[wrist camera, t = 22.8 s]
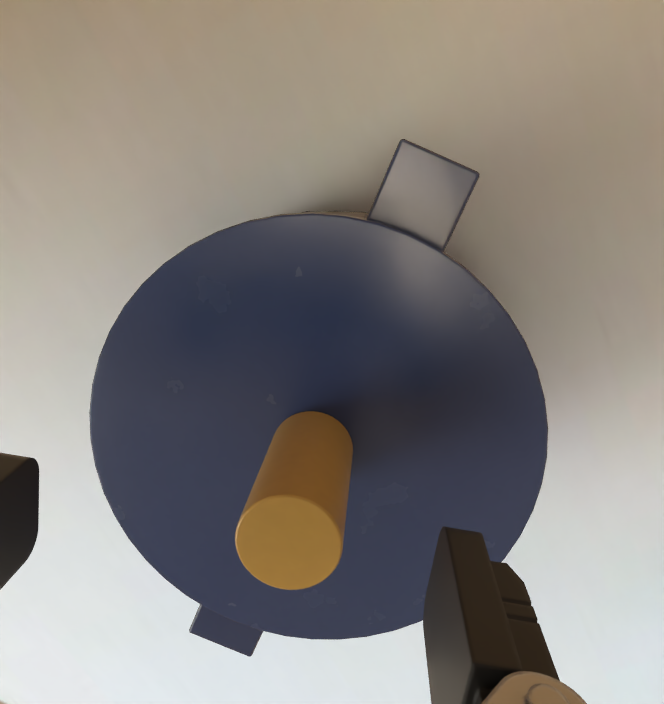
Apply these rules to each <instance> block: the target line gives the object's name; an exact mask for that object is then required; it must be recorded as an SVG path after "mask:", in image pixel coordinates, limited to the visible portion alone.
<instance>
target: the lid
mask: <svg viewBox="0 0 664 704" xmlns="http://www.w3.org/2000/svg"><path fill="white" fill-rule="evenodd" d="M90 435H91V444H92V450H93V455H94V461H95V466H96V470H97V473H98V476H99V479H100V482H101V485H102V489H103V492H104V494H105V496H106V498H107V500H108V502H109V505H110V507H111V509H112V511H113V513H114V515H115V517H116V519H117V520H118V522H119V524H120V525H121V527H122V528H123V530H124V532H125V533H126V535H127V536H128V538H129V539H130V541H131V542H132V543H133V544H134V546H135V547H136V548H137V549H138V551H139V552H140V553H141V554H142V556H143V557H144V558H145V559H146V560H147V561H148V562H149V563H150V564H151V565H152V566H153V567H154V568H155V569H156V570H157V571H158V572H159V573H160V574H161V575H162V576H163V577H164V578H165V579H166V580H167V581H169V582H170V583H171V584H172V585H174V586H175V587H176V588H178V589H179V590H180V591H181V592H183V593H184V594H185V595H187V596H188V597H190V598H191V599H193V600H195V601H196V602H198V603H200V604H201V605H203V606H204V607H206V608H208V609H209V610H211V611H214V612H216V613H218V614H220V615H222V616H224V617H226V618H228V619H230V620H233V621H235V622H238V623H241V624H244V625H247V626H249V627H252V628H255V629H258V630H262V631H266V632H271V633H275V634H279V635H284V636H290V637H299V638H307V639H348V638H358V637H367V636H372V635H376V634H381V633H385V632H390V631H394V630H397V629H400V628H403V627H406V626H408V625H411V624H414V623H417V622H420V621H422V620H423V615H424V603H425V597H426V591H427V587H428V582H429V578H430V573H431V569H432V564H433V560H434V555H435V551H436V546H437V542H438V538H439V534H440V531H441V529H442V527H450V528H456V529H462V530H468V531H474V532H480V533H482V535H483V538H484V541H485V545H486V548H487V551H488V555H489V558H490V561H495V562H502V561H503V559H504V558H505V557H506V556H507V554H508V553H509V551H510V550H511V548H512V547H513V545H514V544H515V543H516V541H517V540H518V538H519V537H520V535H521V533H522V531H523V529H524V527H525V525H526V523H527V521H528V519H529V517H530V515H531V513H532V511H533V509H534V506H535V503H536V500H537V497H538V494H539V491H540V488H541V485H542V480H543V475H544V470H545V464H546V459H547V440H548V424H547V415H546V405H545V398H544V394H543V390H542V386H541V382H540V379H539V375H538V371H537V368H536V366H535V363H534V361H533V359H532V356H531V354H530V352H529V349H528V347H527V344H526V342H525V340H524V339H523V337H522V335H521V334H520V332H519V330H518V329H517V327H516V325H515V324H514V322H513V320H512V319H511V317H510V315H509V314H508V313H507V312H506V310H505V309H504V308H503V307H502V306H501V304H500V303H499V302H498V301H497V299H496V298H495V297H494V296H493V294H492V293H491V292H490V291H489V290H488V288H487V287H485V286H484V285H483V284H482V283H481V282H480V281H479V280H478V279H477V278H476V277H475V276H474V275H473V274H472V273H470V272H469V271H468V270H467V269H466V268H465V267H464V266H463V265H461V264H460V263H458V262H457V261H456V260H454V259H453V258H451V257H450V256H448V255H447V254H446V253H444V252H443V251H441V250H440V249H439V248H437V247H435V246H433V245H431V244H429V243H427V242H425V241H423V240H422V239H420V238H418V237H416V236H414V235H412V234H410V233H408V232H405V231H402V230H399V229H397V228H394V227H391V226H388V225H386V224H383V223H380V222H376V221H372V220H367V219H363V218H358V217H353V216H349V215H340V214H328V213H315V212H312V213H294V214H280V215H275V216H270V217H265V218H259V219H254V220H250V221H247V222H244V223H241V224H238V225H235V226H232V227H229V228H226V229H223V230H220V231H218V232H215V233H213V234H212V235H210V236H208V237H206V238H204V239H202V240H200V241H198V242H196V243H194V244H192V245H190V246H188V247H187V248H185V249H184V250H182V251H181V252H180V253H178V254H177V255H175V256H174V257H172V258H171V259H170V260H168V261H167V262H165V263H164V264H163V265H162V266H161V267H160V268H159V269H157V270H156V271H155V272H154V273H153V274H152V275H151V276H150V277H149V278H148V279H147V280H146V281H145V282H144V283H143V284H142V285H141V286H140V287H139V288H138V290H137V291H136V292H135V293H134V295H133V296H132V297H131V298H130V300H129V301H128V302H127V303H126V305H125V306H124V308H123V309H122V311H121V313H120V314H119V316H118V318H117V319H116V321H115V323H114V325H113V326H112V328H111V330H110V332H109V334H108V336H107V339H106V341H105V344H104V346H103V349H102V351H101V354H100V356H99V360H98V364H97V368H96V372H95V376H94V380H93V384H92V393H91V403H90Z"/></svg>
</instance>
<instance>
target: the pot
mask: <svg viewBox="0 0 664 704" xmlns="http://www.w3.org/2000/svg"><path fill="white" fill-rule="evenodd" d="M478 178H479V173H478V172H477V171H475V170H472V169H470V168H468V167H466V166H463V165H461V164H459V163H457V162H454V161H452V160H450V159H448V158H446V157H443V156H441V155H439V154H437V153H434V152H432V151H430V150H428V149H425V148H423V147H421V146H419V145H416V144H414V143H412V142H410V141H407V140H405V139H401V140H400V142H399V144H398V146H397V148H396V151H395V153H394V155H393V158H392V160H391V162H390V165H389V167H388V169H387V172H386V174H385V176H384V179H383V181H382V183H381V186H380V188H379V190H378V193H377V195H376V197H375V200H374V202H373V204H372V206H371V209H370V211H369V213H366V212H344V211H326V212H320V211H306V212H302V213H312V212H315V213H328V214H340V215H349V216H353V217H358V218H363V219H367V220H372V221H376V222H380V223H383V224H386V225H388V226H391V227H394V228H397V229H399V230H402V231H405V232H408V233H410V234H412V235H414V236H416V237H418V238H420V239H422V240H423V241H425V242H427V243H429V244H431V245H433V246H435V247H437V248H439V249H440V250H441V251H443V252H444V250H445V248H446V245H447V243H448V241H449V239H450V237H451V235H452V233H453V231H454V229H455V227H456V224H457V222H458V220H459V218H460V216H461V214H462V212H463V210H464V208H465V205H466V203H467V201H468V199H469V197H470V195H471V193H472V191H473V189H474V187H475V184H476V182H477V180H478ZM189 632H190V633H193V634H195V635H198V636H200V637H203V638H205V639H207V640H210V641H212V642H215V643H217V644H220V645H222V646H225V647H227V648H230V649H232V650H235V651H237V652H239V653H242V654H244V655H247V656H251V655H252V654H253V652H254V649H255V647H256V645H257V643H258V641H259V639H260V637H261V635H262V633H263V631H262V630H258V629H255V628H252V627H249V626H247V625H244V624H241V623H238V622H235V621H233V620H230V619H228V618H226V617H224V616H222V615H220V614H218V613H216V612H214V611H211V610H209V609H208V608H206V607H204V606H203V605H201V604H200V606H199V608H198V610H197V613H196V615H195V618H194V620H193V622H192V625H191V627H190V629H189Z"/></svg>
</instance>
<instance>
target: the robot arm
mask: <svg viewBox="0 0 664 704" xmlns="http://www.w3.org/2000/svg"><path fill="white" fill-rule="evenodd" d="M38 508H39V466H38V463H37V461H36V460H35V459H34V458H29V457H23V456H17V455H11V454H5V453H0V589H1V588H2V587H3V586H4V585H5V584H6V583H7V582H8V580H9V579H10V578H11V577H12V576H13V575H14V574H15V573H16V572H17V570H18V569H19V568H20V567H21V566H22V565H23V564H24V563H25V561H26V560H27V559H28V557H29V556H30V554H31V552H32V550H33V547H34V545H35V542H36V538H37V533H38ZM423 628H424V638H425V647H426V657H427V666H428V675H429V685H430V694H431V703H432V704H587V703H586V702H585V701H584V700H583V699H582V698H581V697H580V696H579V695H578V694H577V693H576V692H575V691H574V690H573V689H571V688H570V687H568V686H567V685H565V684H564V683H562V682H560V680H559V677H558V675H557V672H556V669H555V666H554V664H553V661H552V658H551V655H550V653H549V650H548V647H547V644H546V642H545V639H544V636H543V633H542V631H541V628H540V625H539V624H538V623H537V617H536V614H535V611H534V609H533V607H532V606H531V600H530V598H529V595H528V592H527V590H526V587H525V584H524V582H523V581H522V580H521V579H520V578H519V576H518V575H517V574H516V573H515V572H514V571H513V570H512V569H511V568H510V566H509V565H508V564H507V563H501V562H495V561H490V558H489V555H488V551H487V548H486V545H485V541H484V538H483V535H482V533H480V532H474V531H468V530H462V529H456V528H450V527H442V529H441V531H440V534H439V538H438V542H437V546H436V551H435V555H434V560H433V564H432V569H431V573H430V578H429V582H428V587H427V591H426V597H425V603H424V615H423Z"/></svg>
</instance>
